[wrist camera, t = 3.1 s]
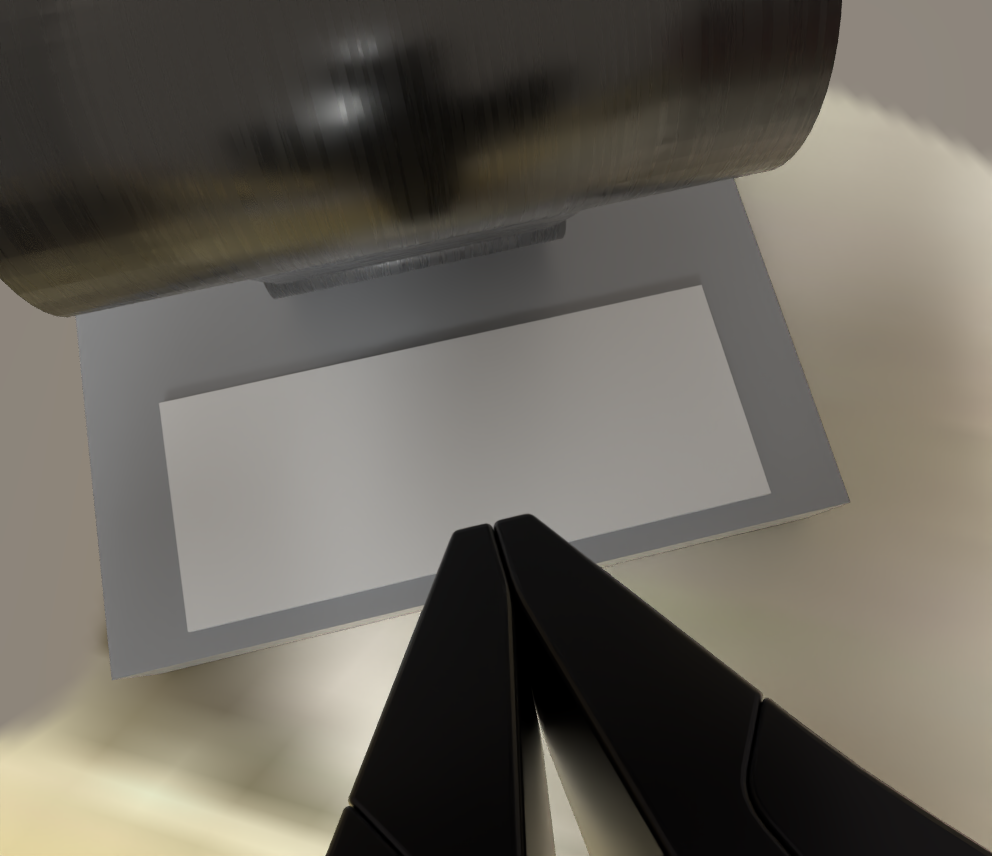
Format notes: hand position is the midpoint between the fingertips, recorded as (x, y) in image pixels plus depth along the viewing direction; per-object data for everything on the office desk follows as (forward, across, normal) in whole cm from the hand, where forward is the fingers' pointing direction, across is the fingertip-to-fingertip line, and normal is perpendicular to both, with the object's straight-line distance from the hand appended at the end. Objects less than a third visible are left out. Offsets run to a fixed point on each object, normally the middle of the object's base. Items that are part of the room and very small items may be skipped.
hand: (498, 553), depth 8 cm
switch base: (+11, 0, +1) cm, 11 cm away
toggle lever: (+8, 0, -2) cm, 8 cm away
